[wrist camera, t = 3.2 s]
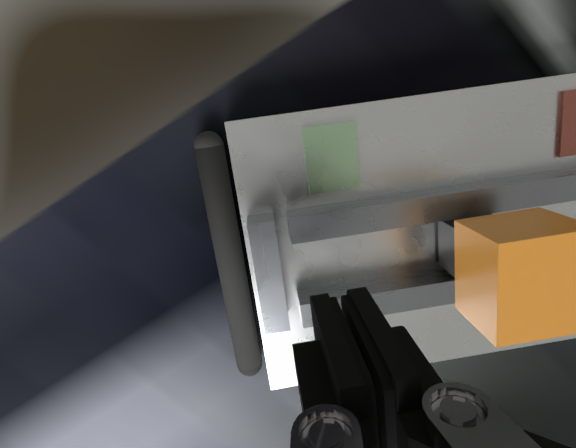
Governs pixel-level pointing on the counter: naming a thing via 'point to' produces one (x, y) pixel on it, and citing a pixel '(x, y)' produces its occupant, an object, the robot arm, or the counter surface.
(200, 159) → the grey bar
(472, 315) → the orange block
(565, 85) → the slider switch board
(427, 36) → the counter surface
